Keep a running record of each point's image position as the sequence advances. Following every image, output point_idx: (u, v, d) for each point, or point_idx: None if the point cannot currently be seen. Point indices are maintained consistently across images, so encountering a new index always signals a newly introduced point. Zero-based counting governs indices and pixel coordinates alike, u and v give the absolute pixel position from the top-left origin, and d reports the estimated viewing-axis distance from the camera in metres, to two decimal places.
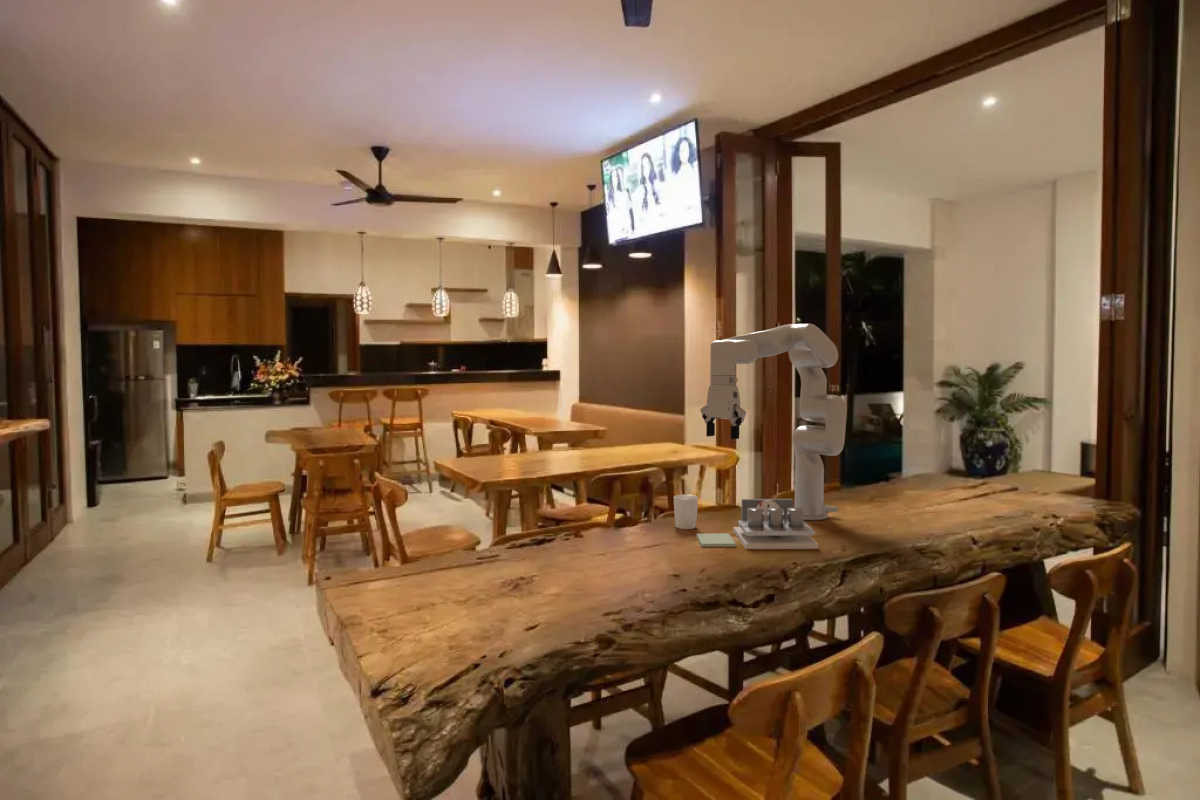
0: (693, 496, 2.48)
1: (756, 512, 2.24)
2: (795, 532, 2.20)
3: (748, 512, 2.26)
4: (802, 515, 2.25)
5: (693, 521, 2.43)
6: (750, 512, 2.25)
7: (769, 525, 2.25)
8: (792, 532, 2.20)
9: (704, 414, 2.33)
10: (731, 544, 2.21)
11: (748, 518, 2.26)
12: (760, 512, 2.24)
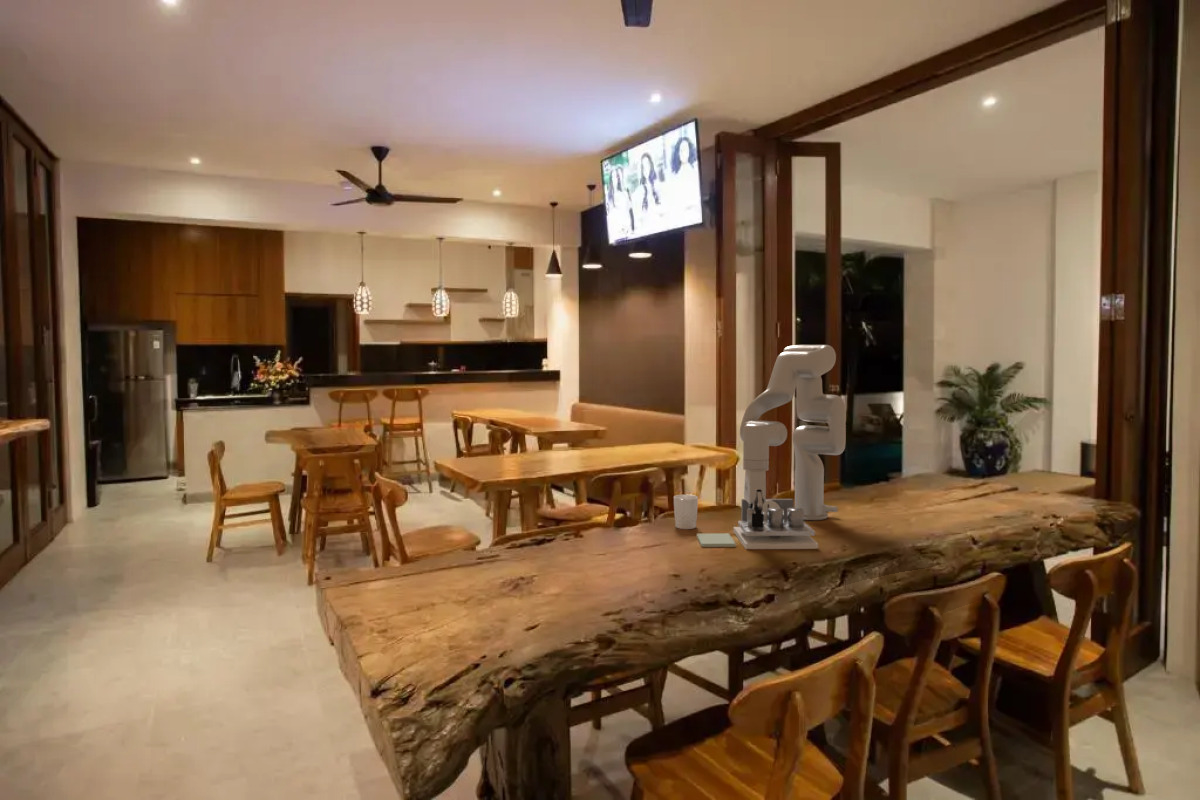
0: (693, 496, 2.48)
1: None
2: (795, 532, 2.20)
3: (748, 512, 2.26)
4: (802, 515, 2.25)
5: (693, 521, 2.43)
6: (750, 512, 2.25)
7: (769, 525, 2.25)
8: (792, 532, 2.20)
9: None
10: (731, 544, 2.21)
11: (748, 518, 2.26)
12: None
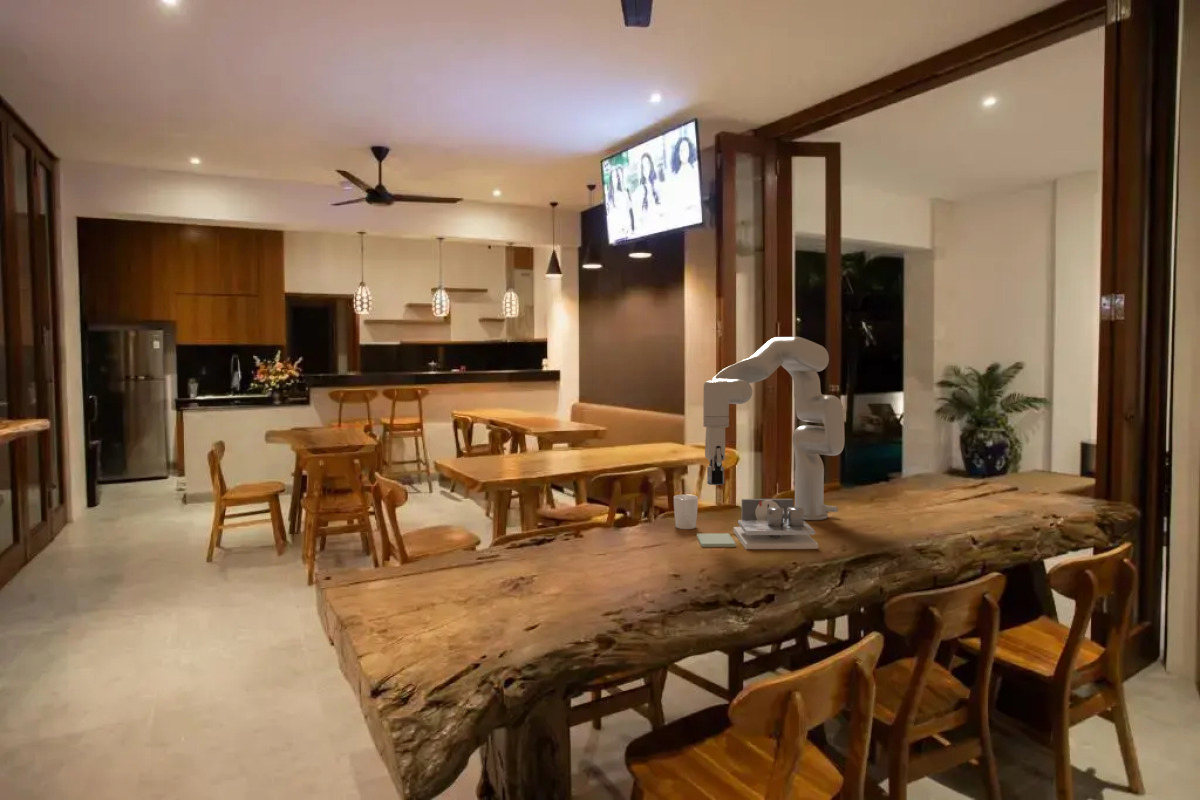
0: (693, 496, 2.48)
1: None
2: (795, 531, 2.20)
3: (708, 470, 2.25)
4: (802, 514, 2.25)
5: (693, 521, 2.43)
6: (710, 469, 2.24)
7: (769, 524, 2.25)
8: (792, 531, 2.20)
9: None
10: (731, 544, 2.21)
11: (708, 476, 2.25)
12: None
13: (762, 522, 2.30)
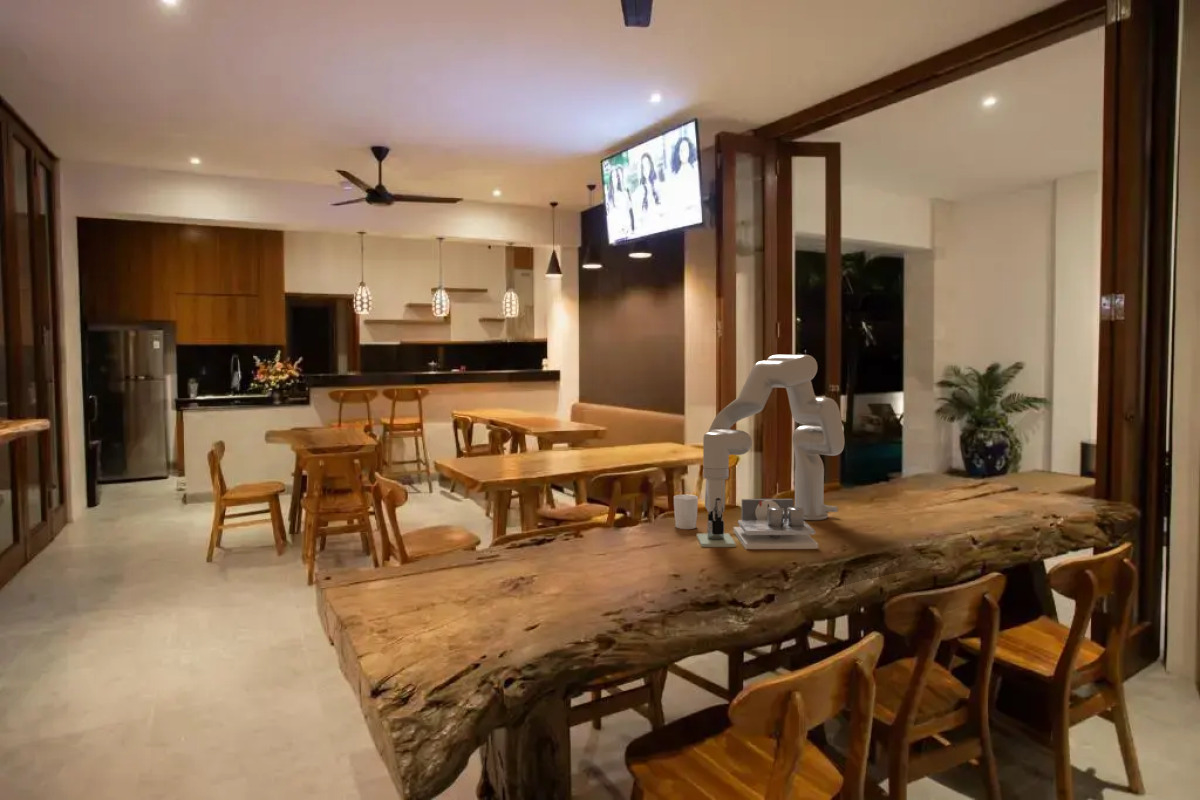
0: (693, 496, 2.48)
1: None
2: (795, 531, 2.20)
3: (708, 525, 2.26)
4: (802, 514, 2.25)
5: (693, 521, 2.43)
6: (710, 525, 2.25)
7: (769, 524, 2.25)
8: (792, 531, 2.20)
9: None
10: (731, 544, 2.21)
11: (708, 531, 2.26)
12: None
13: (762, 522, 2.30)
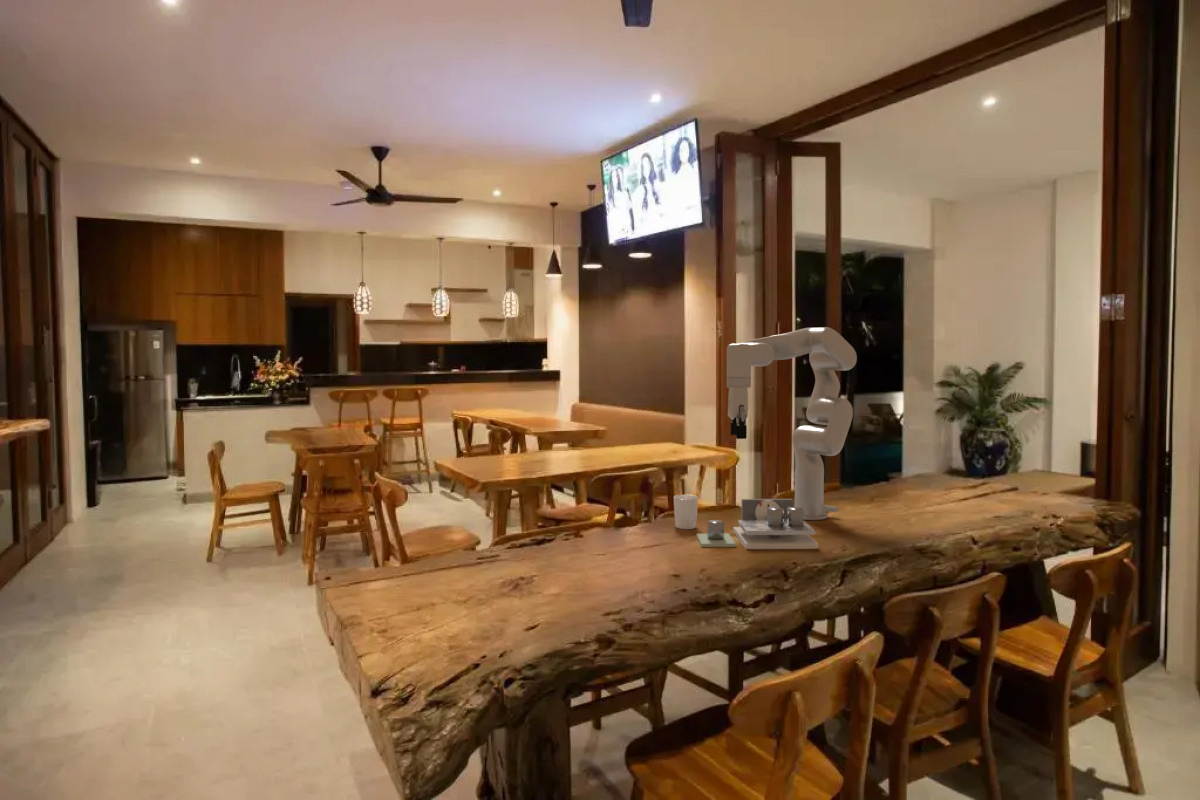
0: (693, 496, 2.48)
1: (716, 525, 2.24)
2: (795, 531, 2.20)
3: (708, 525, 2.26)
4: (802, 514, 2.25)
5: (693, 521, 2.43)
6: (710, 525, 2.25)
7: (769, 524, 2.25)
8: (792, 531, 2.20)
9: None
10: (731, 544, 2.21)
11: (708, 531, 2.26)
12: (720, 525, 2.25)
13: (762, 522, 2.30)
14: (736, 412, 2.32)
